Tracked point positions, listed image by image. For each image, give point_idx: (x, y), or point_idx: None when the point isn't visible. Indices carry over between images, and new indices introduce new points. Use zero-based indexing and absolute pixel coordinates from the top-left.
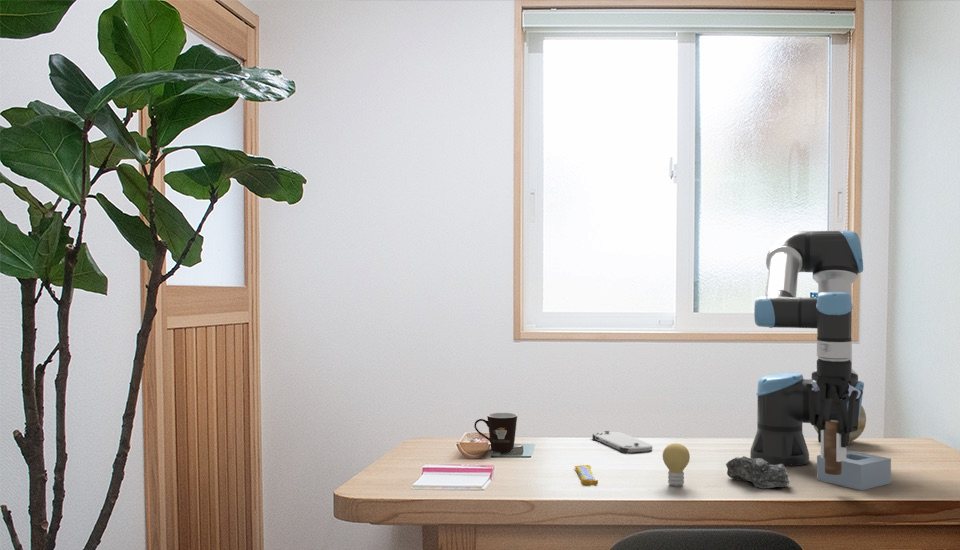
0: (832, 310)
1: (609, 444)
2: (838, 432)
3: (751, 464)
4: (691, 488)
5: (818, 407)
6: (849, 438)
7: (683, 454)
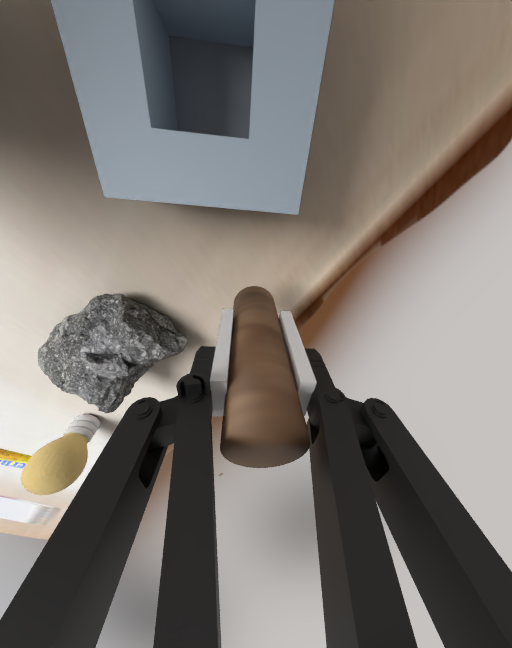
0: None
1: None
2: (307, 429)
3: (121, 393)
4: (115, 416)
5: (109, 546)
6: None
7: (76, 476)
